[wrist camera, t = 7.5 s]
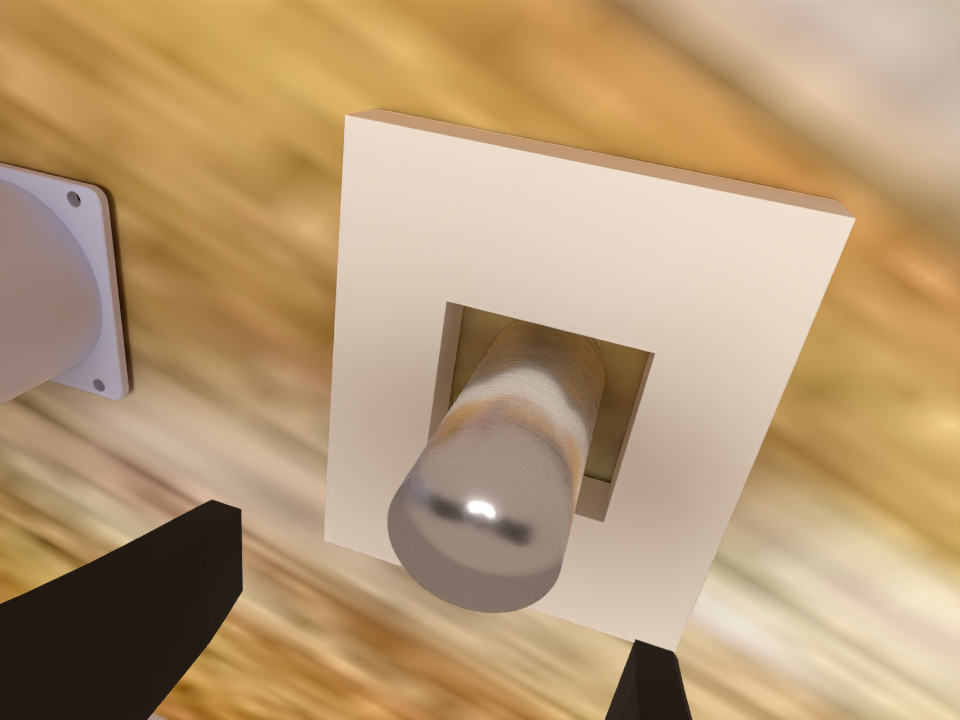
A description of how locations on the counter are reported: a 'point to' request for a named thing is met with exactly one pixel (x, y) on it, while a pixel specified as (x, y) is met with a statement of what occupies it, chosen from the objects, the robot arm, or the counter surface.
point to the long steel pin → (503, 473)
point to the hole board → (578, 309)
